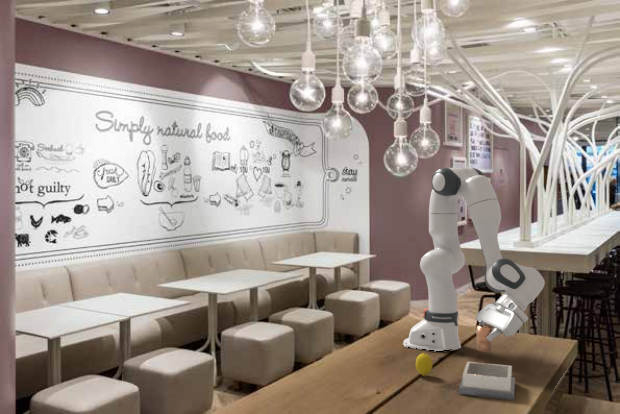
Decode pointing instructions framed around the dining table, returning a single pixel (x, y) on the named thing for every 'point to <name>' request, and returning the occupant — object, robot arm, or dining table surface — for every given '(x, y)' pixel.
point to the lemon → (424, 364)
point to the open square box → (488, 381)
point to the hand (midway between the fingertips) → (482, 337)
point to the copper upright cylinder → (483, 337)
